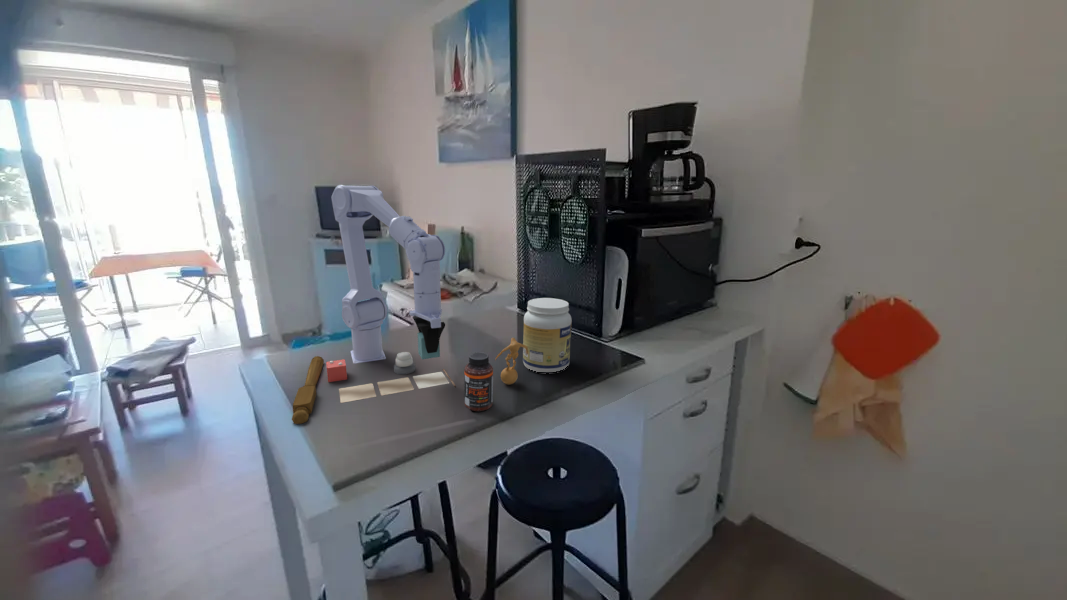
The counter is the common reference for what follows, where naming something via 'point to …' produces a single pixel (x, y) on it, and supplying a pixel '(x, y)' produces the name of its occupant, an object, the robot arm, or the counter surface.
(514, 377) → the figurine
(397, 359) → the dome
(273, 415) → the counter surface
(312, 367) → the tap handle
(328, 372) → the red die
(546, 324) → the supplement tub
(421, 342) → the teal rectangular block
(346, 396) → the game board
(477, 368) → the supplement bottle
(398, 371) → the dome base
